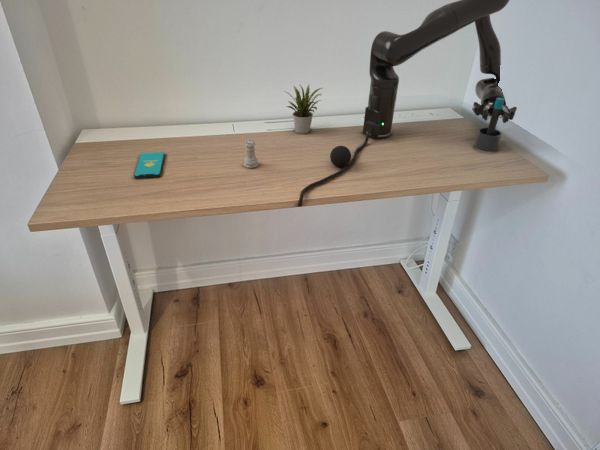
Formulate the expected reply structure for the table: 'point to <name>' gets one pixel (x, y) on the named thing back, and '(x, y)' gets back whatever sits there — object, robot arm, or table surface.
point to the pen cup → (488, 140)
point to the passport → (149, 165)
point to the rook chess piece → (250, 155)
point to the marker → (495, 116)
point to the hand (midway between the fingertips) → (495, 118)
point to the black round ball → (340, 156)
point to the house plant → (303, 110)
